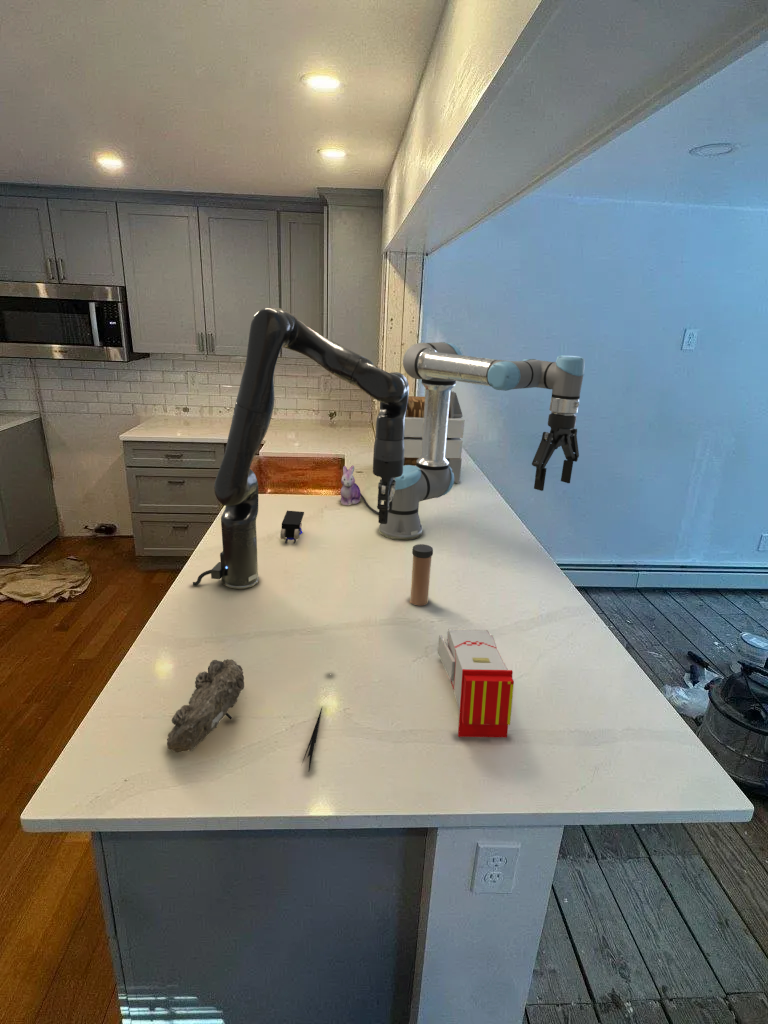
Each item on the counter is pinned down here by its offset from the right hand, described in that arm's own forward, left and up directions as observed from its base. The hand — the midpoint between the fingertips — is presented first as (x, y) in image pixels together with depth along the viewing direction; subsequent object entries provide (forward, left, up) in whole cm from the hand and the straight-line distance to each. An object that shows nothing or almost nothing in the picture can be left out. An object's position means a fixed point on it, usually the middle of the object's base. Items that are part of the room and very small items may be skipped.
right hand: (552, 485), depth 166 cm
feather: (+14, -91, -28) cm, 96 cm away
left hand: (-15, -52, -4) cm, 54 cm away
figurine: (-85, -8, -28) cm, 90 cm away
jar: (-9, -43, -28) cm, 52 cm away
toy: (+26, -62, -28) cm, 72 cm away
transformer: (-101, +46, -28) cm, 115 cm away
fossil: (0, -107, -28) cm, 110 cm away
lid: (-9, -43, -13) cm, 46 cm away
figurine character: (-66, -47, -28) cm, 86 cm away
